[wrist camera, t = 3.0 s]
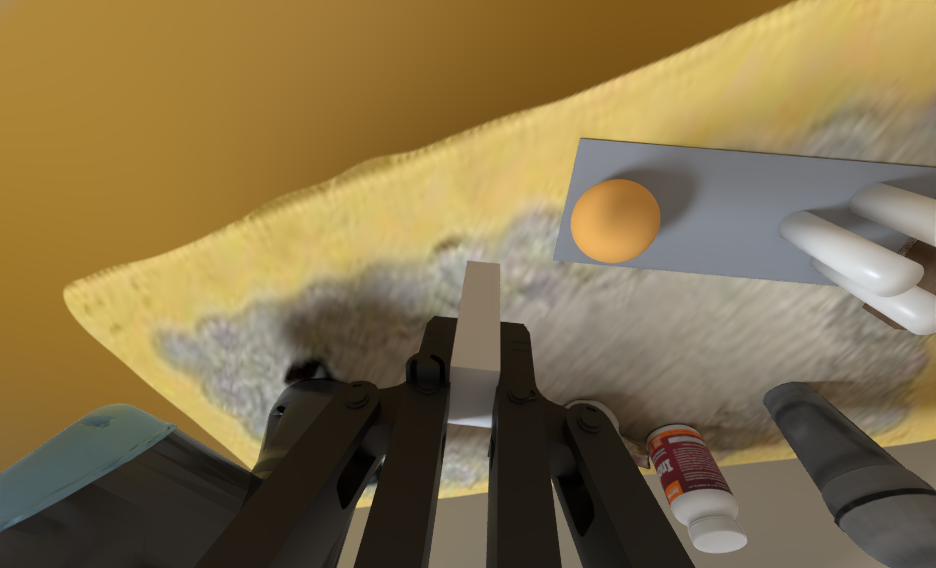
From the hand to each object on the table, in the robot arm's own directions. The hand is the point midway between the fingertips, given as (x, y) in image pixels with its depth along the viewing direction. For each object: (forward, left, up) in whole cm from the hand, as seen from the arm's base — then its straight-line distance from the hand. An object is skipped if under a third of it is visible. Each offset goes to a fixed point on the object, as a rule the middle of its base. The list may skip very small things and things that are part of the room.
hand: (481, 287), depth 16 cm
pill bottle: (+25, -28, -14) cm, 40 cm away
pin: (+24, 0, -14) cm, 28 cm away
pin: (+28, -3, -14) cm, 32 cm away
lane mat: (+20, 0, -14) cm, 24 cm away
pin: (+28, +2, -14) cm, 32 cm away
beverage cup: (+34, -19, -14) cm, 42 cm away
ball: (+9, 0, -11) cm, 14 cm away
